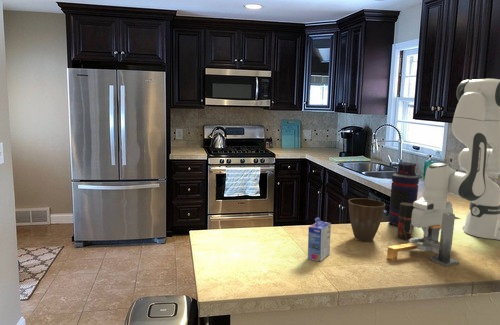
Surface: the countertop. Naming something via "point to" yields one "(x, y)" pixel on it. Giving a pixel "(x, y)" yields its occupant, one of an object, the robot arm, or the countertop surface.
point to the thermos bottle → (403, 189)
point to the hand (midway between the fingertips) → (431, 235)
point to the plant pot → (365, 217)
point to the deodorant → (405, 221)
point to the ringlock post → (438, 247)
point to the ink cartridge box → (319, 240)
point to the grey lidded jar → (433, 233)
